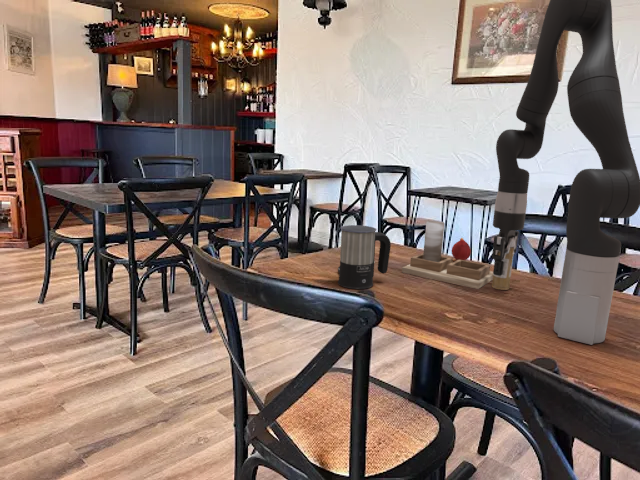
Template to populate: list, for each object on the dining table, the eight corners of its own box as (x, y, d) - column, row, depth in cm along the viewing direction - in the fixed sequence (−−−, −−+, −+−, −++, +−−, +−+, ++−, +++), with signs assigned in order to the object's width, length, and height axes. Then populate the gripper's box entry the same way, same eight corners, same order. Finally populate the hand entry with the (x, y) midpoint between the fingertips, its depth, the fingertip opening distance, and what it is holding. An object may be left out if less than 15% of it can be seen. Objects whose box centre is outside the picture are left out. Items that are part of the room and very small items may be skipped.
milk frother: (354, 292, 119) (358, 232, 116) (313, 276, 131) (315, 222, 128) (392, 283, 128) (397, 227, 125) (350, 269, 140) (354, 218, 137)
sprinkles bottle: (512, 289, 128) (519, 239, 125) (501, 291, 125) (508, 240, 123) (498, 284, 132) (504, 235, 129) (487, 286, 129) (493, 237, 126)
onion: (471, 262, 155) (474, 238, 153) (466, 266, 150) (469, 240, 148) (453, 259, 158) (456, 235, 156) (448, 262, 153) (450, 237, 151)
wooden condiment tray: (478, 289, 126) (484, 234, 124) (401, 272, 139) (406, 222, 136) (495, 277, 138) (501, 227, 135) (423, 263, 151) (428, 217, 148)
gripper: (517, 214, 116) (509, 280, 120) (532, 209, 128) (523, 269, 131) (486, 210, 121) (478, 274, 124) (503, 205, 132) (495, 264, 136)
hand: (502, 272), depth 128 cm, fingers open, 7 cm apart
